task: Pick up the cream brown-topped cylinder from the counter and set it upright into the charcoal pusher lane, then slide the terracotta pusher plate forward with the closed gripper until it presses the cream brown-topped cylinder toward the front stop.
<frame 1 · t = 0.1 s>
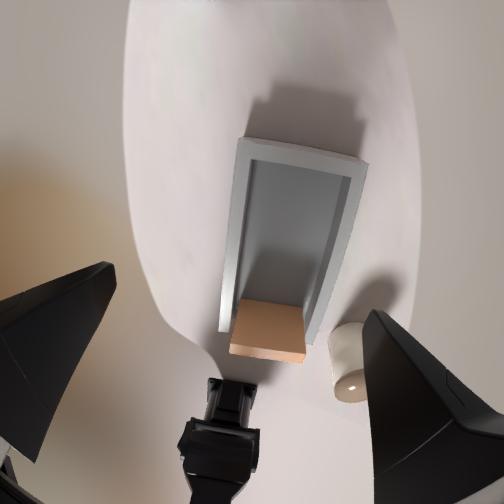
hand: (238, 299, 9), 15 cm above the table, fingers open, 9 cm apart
lane: (283, 244, 24), on the table
cream brown-topped cylinder: (349, 338, 28), on the table
pusher: (269, 329, 24), point 4 cm above the table, slide at 0.0 cm
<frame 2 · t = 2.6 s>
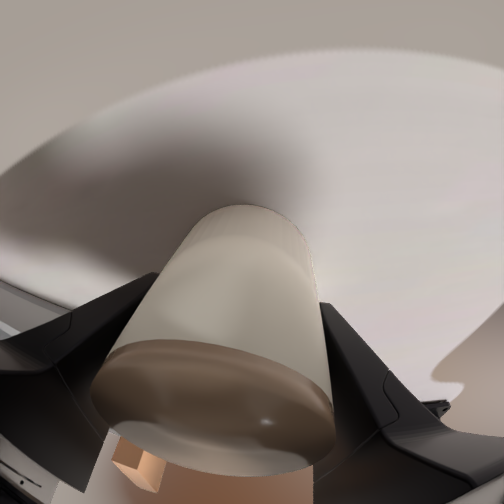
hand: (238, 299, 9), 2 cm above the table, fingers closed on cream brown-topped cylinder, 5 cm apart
lane: (83, 358, 15), on the table
cream brown-topped cylinder: (245, 267, 11), on the table, touching gripper
pusher: (152, 436, 12), point 4 cm above the table, slide at 0.0 cm
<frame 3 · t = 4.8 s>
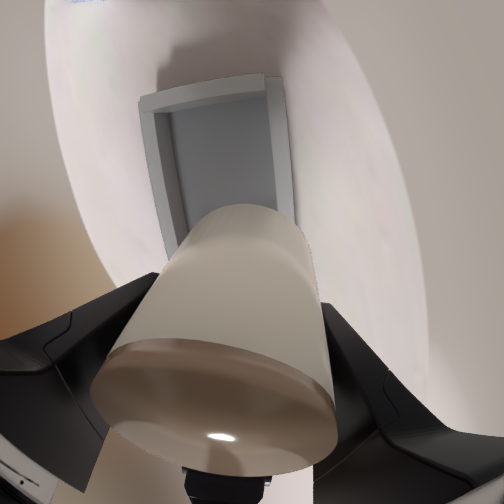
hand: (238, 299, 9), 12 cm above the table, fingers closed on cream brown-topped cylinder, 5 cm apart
lane: (230, 204, 20), on the table
cream brown-topped cylinder: (246, 266, 11), point 10 cm above the table, touching gripper
when the fingers open (4 cm above the table, at t = 7.0 s): cream brown-topped cylinder drops 1 cm, resting on lane.
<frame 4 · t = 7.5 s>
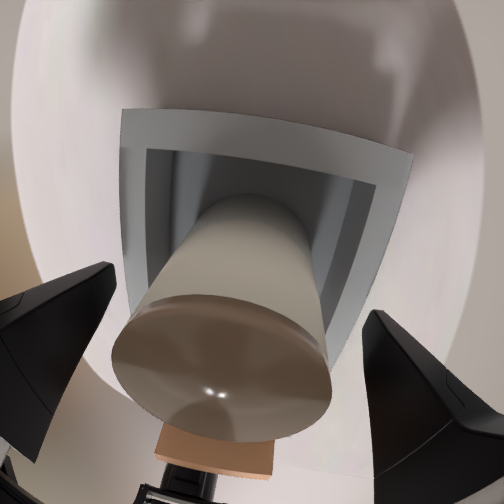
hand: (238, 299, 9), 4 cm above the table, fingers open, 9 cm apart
lane: (242, 300, 14), on the table
cream brown-topped cylinder: (249, 252, 12), point 1 cm above the table, touching lane
pusher: (220, 425, 13), point 4 cm above the table, slide at 0.0 cm
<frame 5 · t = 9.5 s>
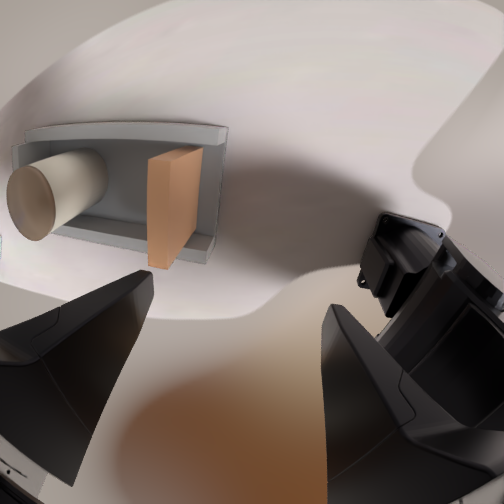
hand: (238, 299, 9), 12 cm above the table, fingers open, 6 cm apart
lane: (117, 177, 20), on the table
cream brown-topped cylinder: (85, 176, 19), point 1 cm above the table, touching lane
pusher: (176, 200, 16), point 4 cm above the table, slide at 0.0 cm
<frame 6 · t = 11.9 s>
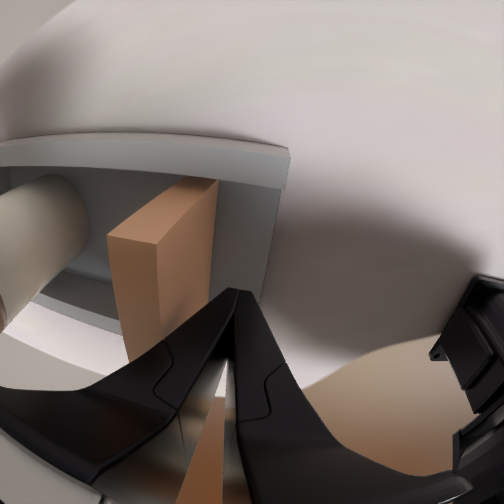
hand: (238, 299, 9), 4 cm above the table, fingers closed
lane: (103, 220, 13), on the table
cream brown-topped cylinder: (56, 217, 12), point 1 cm above the table, touching lane
pusher: (176, 281, 9), point 4 cm above the table, slide at 1.0 cm, touching gripper
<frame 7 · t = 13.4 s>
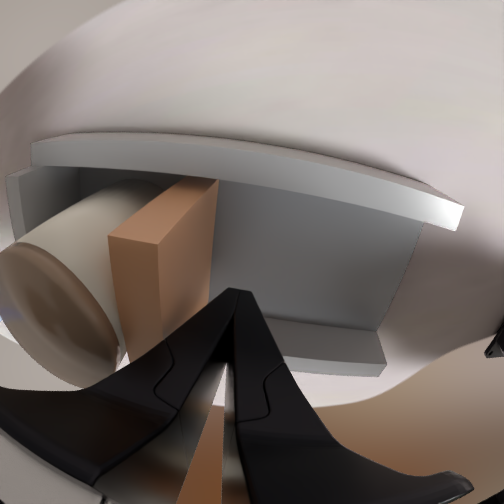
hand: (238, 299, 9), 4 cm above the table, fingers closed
lane: (226, 240, 13), on the table
cream brown-topped cylinder: (136, 231, 12), point 1 cm above the table, touching lane, pusher
pusher: (176, 281, 9), point 4 cm above the table, slide at 7.6 cm, touching gripper, cream brown-topped cylinder
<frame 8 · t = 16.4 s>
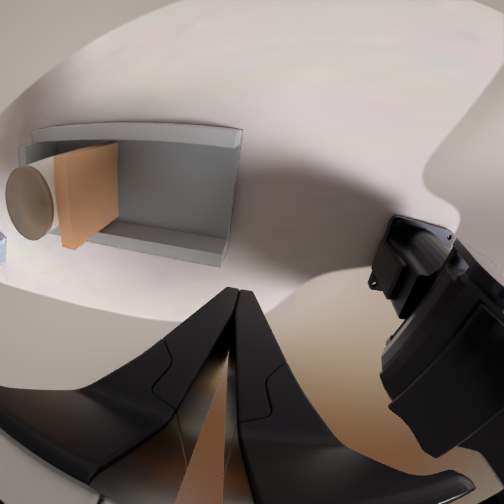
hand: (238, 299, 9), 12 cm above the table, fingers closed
lane: (128, 178, 20), on the table
cream brown-topped cylinder: (83, 177, 19), point 1 cm above the table, touching lane
pusher: (89, 190, 16), point 4 cm above the table, slide at 7.7 cm
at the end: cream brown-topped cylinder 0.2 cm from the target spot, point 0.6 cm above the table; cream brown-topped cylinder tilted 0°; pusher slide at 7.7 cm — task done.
